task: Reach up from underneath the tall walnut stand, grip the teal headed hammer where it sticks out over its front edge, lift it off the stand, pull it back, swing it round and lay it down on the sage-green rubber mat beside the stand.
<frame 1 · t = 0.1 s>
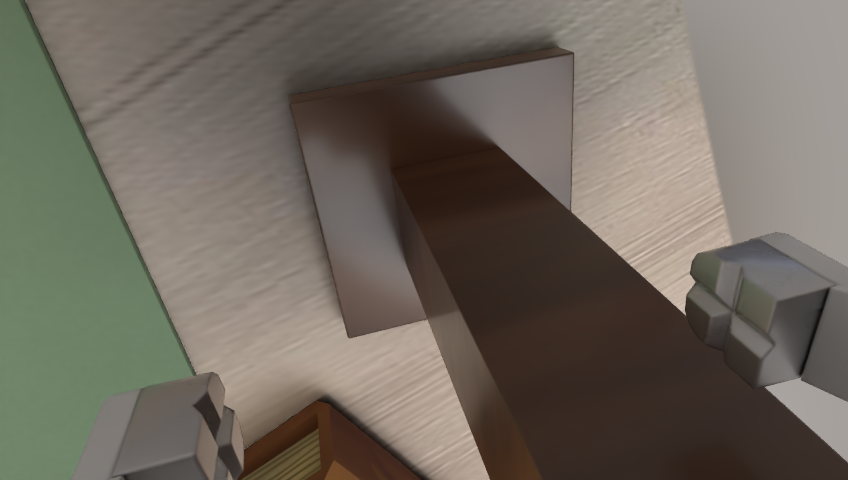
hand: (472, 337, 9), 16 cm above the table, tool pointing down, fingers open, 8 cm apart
mat: (11, 308, 23), on the table
stand: (443, 195, 26), on the table
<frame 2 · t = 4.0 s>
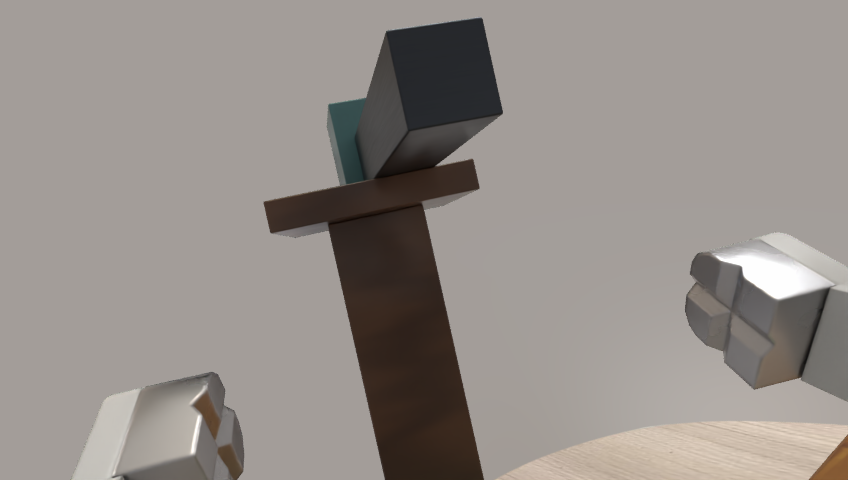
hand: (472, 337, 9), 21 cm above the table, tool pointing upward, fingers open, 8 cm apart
teal headed hammer: (405, 172, 25), point 26 cm above the table, touching stand
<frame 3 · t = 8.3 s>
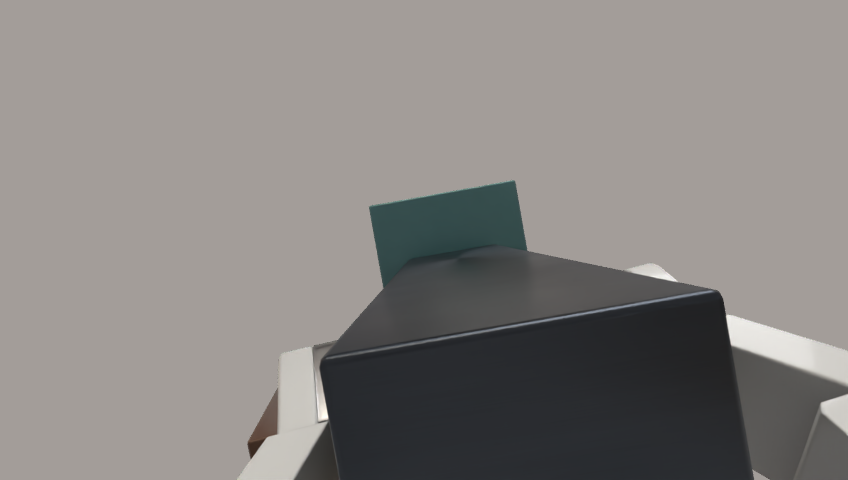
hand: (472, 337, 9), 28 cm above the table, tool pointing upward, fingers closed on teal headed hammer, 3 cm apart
teal headed hammer: (478, 375, 13), point 26 cm above the table, touching gripper, stand
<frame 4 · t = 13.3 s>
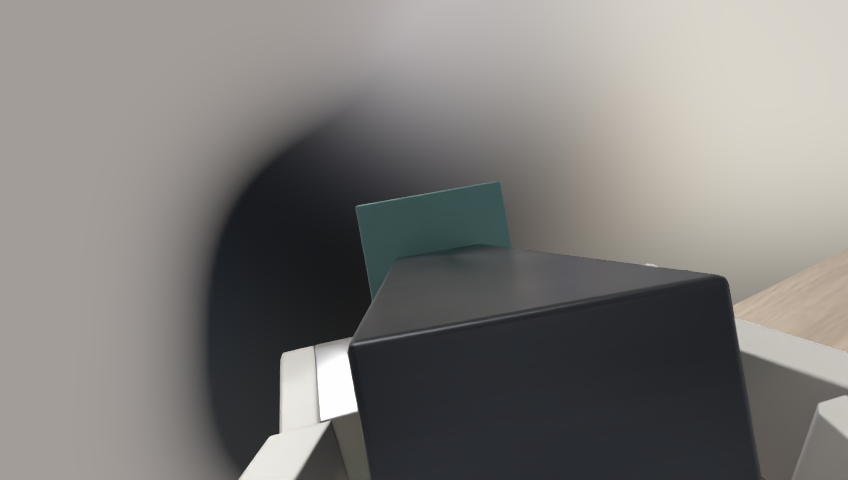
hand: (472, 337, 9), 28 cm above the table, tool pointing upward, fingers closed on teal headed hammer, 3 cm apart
teal headed hammer: (468, 371, 14), point 26 cm above the table, tilted 6°, touching gripper
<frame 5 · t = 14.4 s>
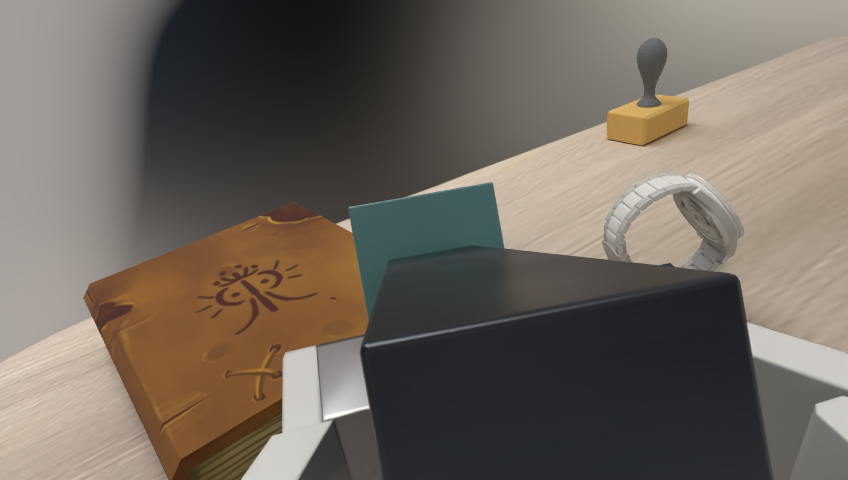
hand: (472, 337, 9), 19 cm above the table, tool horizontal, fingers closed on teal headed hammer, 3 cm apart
watch: (659, 328, 37), on the table
teal headed hammer: (463, 373, 14), point 15 cm above the table, tilted 27°, touching gripper
diary: (273, 353, 40), on the table
rubber stamp: (646, 133, 71), on the table
when the fingers open (6 cm above the table, at t = 18.2 s): teal headed hammer drops 3 cm, resting on mat.
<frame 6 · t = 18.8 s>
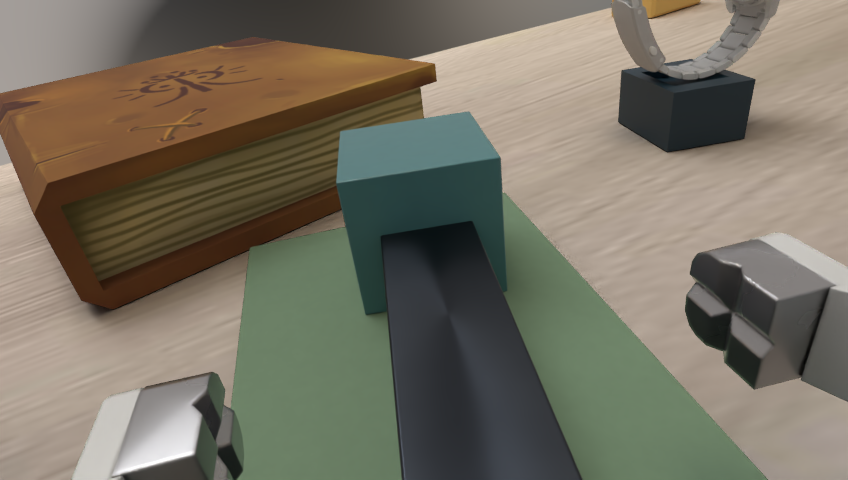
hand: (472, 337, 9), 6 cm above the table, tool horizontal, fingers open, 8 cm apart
watch: (677, 132, 31), on the table
teal headed hammer: (459, 401, 14), resting on mat
diary: (216, 175, 34), on the table
mat: (453, 423, 14), on the table
rubber stamp: (655, 11, 64), on the table
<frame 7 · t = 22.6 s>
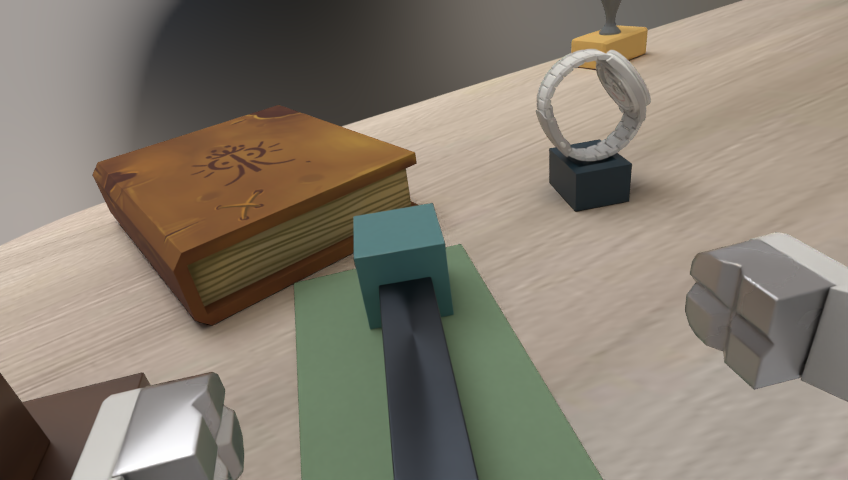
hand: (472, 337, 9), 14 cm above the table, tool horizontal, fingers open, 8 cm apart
watch: (587, 193, 43), on the table
teal headed hammer: (420, 377, 27), resting on mat
diary: (259, 221, 46), on the table
mat: (417, 389, 27), on the table
rubber stamp: (608, 61, 77), on the table
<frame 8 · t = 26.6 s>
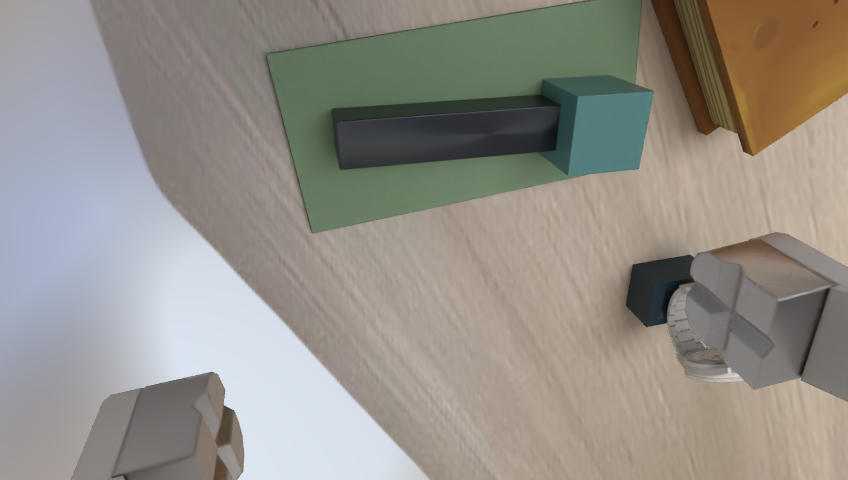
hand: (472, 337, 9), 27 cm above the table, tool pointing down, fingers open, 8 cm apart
watch: (656, 280, 47), on the table
teal headed hammer: (476, 121, 35), resting on mat
mat: (469, 116, 36), on the table
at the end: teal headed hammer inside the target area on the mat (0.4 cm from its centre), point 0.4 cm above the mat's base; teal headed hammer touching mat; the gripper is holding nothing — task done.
